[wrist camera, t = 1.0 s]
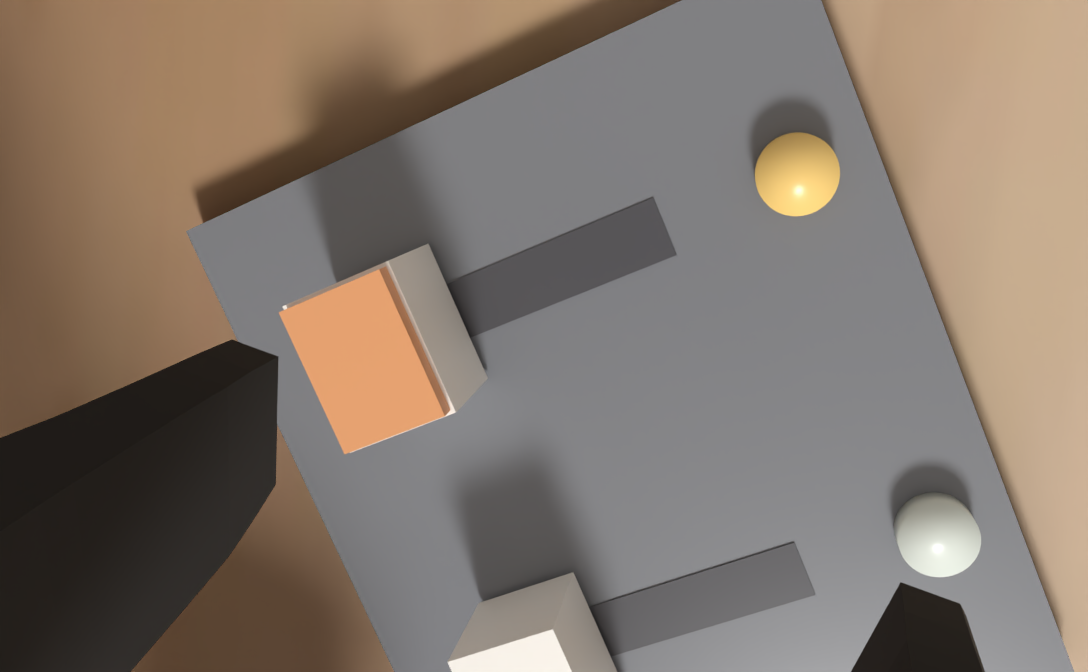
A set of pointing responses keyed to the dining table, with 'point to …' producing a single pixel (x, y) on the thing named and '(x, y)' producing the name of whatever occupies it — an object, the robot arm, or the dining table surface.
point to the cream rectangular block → (533, 633)
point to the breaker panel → (653, 362)
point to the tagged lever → (385, 349)
